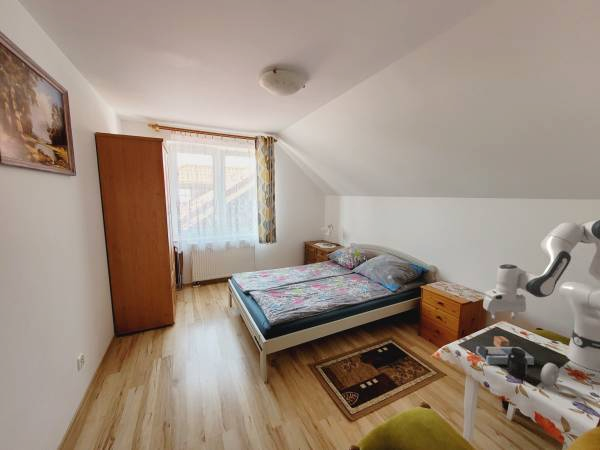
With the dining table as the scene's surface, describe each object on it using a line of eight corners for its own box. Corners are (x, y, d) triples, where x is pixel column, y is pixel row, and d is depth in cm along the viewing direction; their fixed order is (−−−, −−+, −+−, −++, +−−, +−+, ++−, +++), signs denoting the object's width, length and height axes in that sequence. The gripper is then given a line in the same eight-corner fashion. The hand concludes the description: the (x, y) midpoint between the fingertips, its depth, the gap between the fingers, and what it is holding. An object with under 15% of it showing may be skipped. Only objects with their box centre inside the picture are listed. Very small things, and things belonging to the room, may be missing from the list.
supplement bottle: (530, 380, 107) (532, 356, 106) (512, 378, 109) (514, 354, 107) (519, 369, 114) (521, 346, 112) (503, 368, 115) (505, 345, 114)
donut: (548, 391, 101) (550, 369, 100) (537, 385, 104) (539, 364, 103) (559, 383, 105) (561, 363, 104) (548, 378, 108) (551, 358, 107)
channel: (518, 352, 126) (518, 346, 126) (534, 364, 117) (534, 358, 117) (475, 352, 127) (476, 346, 127) (488, 364, 118) (488, 357, 118)
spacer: (501, 344, 133) (502, 336, 133) (508, 349, 129) (509, 341, 128) (493, 344, 133) (494, 336, 133) (499, 349, 129) (500, 341, 128)
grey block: (498, 353, 124) (499, 344, 124) (505, 359, 120) (506, 350, 119) (478, 353, 125) (479, 344, 124) (485, 358, 120) (485, 350, 120)
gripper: (520, 292, 130) (517, 316, 132) (482, 291, 131) (480, 315, 133) (530, 297, 124) (528, 321, 126) (490, 296, 125) (488, 321, 127)
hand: (503, 318), depth 129 cm, fingers open, 8 cm apart
